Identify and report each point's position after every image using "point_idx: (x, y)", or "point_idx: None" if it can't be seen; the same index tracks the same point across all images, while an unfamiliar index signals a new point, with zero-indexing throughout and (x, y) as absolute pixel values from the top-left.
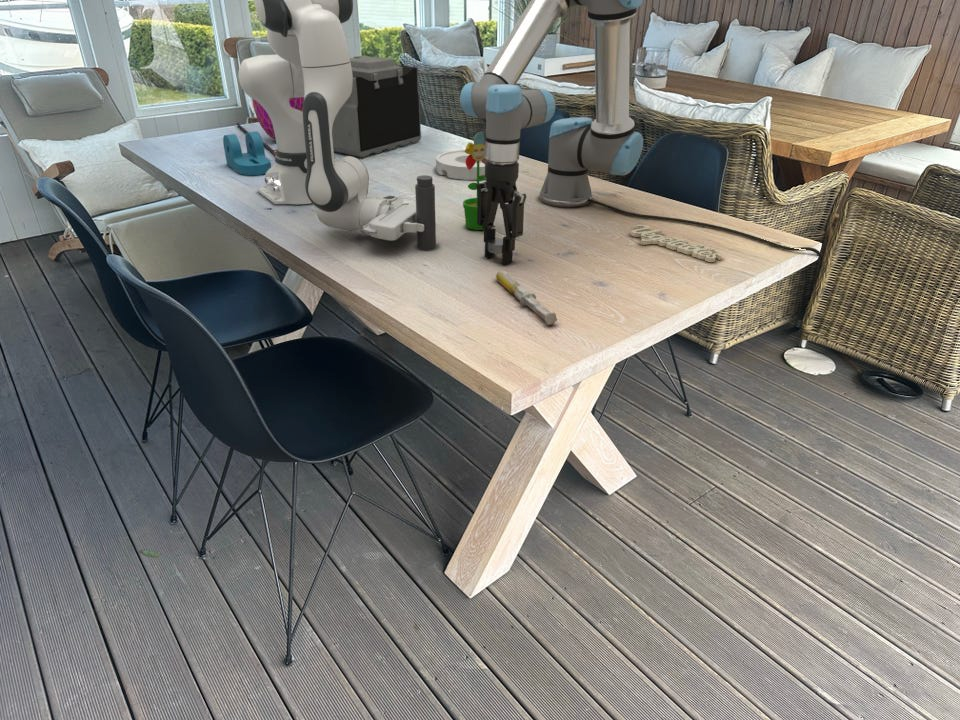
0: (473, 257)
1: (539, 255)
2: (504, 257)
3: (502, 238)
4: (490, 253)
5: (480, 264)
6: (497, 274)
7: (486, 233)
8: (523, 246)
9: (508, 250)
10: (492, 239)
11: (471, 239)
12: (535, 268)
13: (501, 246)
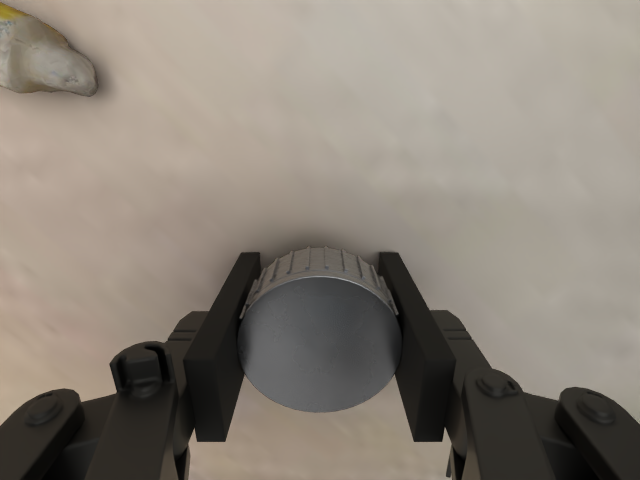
0: (452, 212)
1: (233, 441)
2: (230, 272)
3: (344, 403)
4: None
5: (349, 167)
6: (3, 10)
7: (433, 347)
8: (357, 462)
9: (202, 314)
10: (383, 346)
11: (615, 371)
12: (119, 335)
13: (246, 307)
